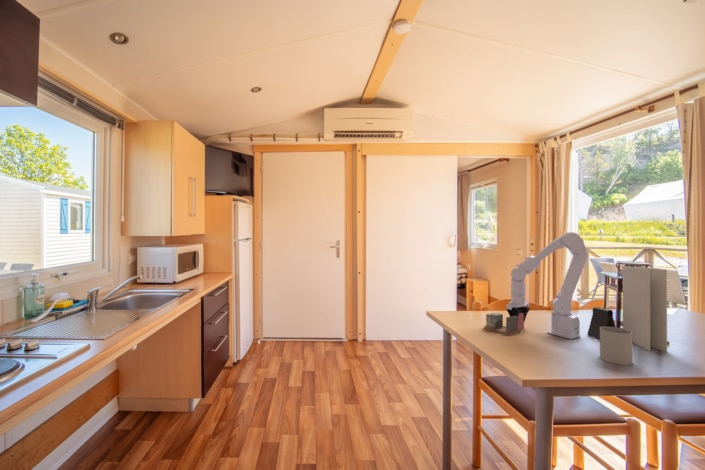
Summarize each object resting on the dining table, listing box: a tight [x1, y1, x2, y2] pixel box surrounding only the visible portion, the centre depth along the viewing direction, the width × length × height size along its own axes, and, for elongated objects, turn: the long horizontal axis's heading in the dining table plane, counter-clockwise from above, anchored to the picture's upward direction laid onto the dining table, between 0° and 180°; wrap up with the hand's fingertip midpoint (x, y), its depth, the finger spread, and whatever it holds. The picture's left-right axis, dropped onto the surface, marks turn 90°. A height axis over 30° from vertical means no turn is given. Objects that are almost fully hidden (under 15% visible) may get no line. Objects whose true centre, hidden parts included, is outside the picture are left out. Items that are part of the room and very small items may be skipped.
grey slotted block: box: [483, 312, 522, 337], centre depth 133 cm, size 12×8×7 cm, turn 29°
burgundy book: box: [517, 312, 525, 330], centre depth 136 cm, size 2×5×7 cm, turn 119°
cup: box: [599, 326, 633, 366], centre depth 102 cm, size 8×8×10 cm
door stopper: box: [586, 306, 617, 340], centre depth 125 cm, size 9×6×12 cm, turn 104°
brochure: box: [622, 265, 668, 353], centre depth 116 cm, size 14×6×30 cm, turn 168°
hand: (518, 323), depth 136 cm, fingers closed on burgundy book, 5 cm apart
